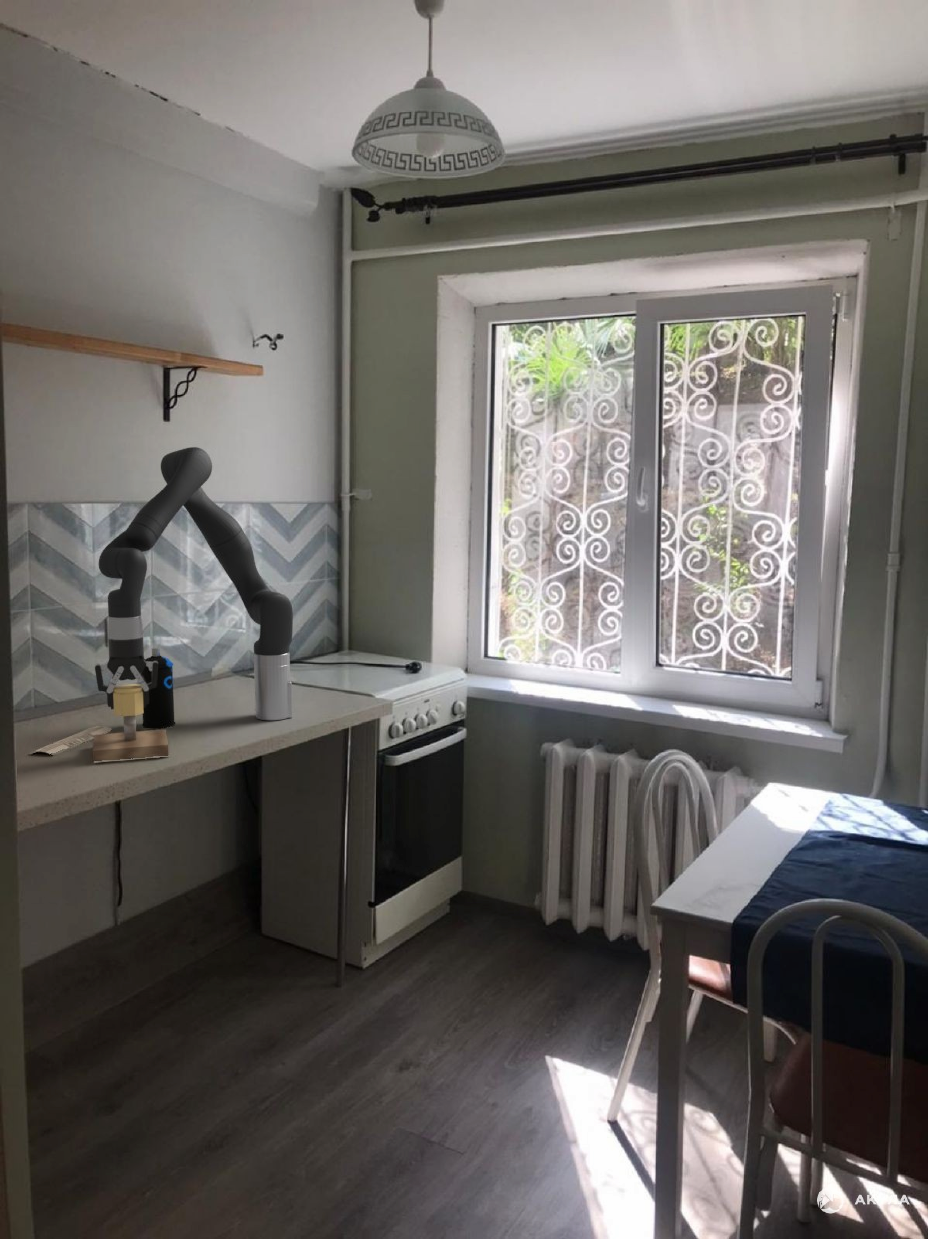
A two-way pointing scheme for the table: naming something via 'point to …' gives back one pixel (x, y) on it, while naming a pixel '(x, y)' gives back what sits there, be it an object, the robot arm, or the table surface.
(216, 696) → the table surface
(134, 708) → the cap
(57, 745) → the newspaper
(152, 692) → the aerosol can
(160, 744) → the bolt base
